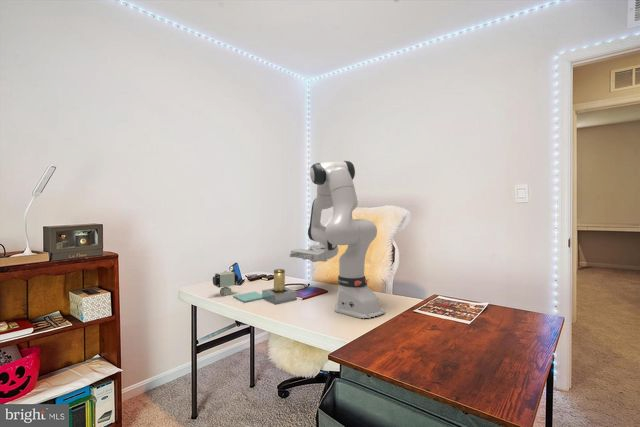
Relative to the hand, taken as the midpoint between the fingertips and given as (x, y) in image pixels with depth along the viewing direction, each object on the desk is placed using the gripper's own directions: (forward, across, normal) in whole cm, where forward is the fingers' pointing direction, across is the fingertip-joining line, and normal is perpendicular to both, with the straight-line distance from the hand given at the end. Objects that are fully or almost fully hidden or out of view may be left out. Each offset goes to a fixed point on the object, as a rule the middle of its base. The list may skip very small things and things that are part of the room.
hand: (297, 256), depth 169 cm
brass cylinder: (+12, 0, +19) cm, 23 cm away
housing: (+12, 0, +19) cm, 23 cm away
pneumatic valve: (+25, -26, +20) cm, 41 cm away
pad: (+20, -12, +19) cm, 30 cm away
